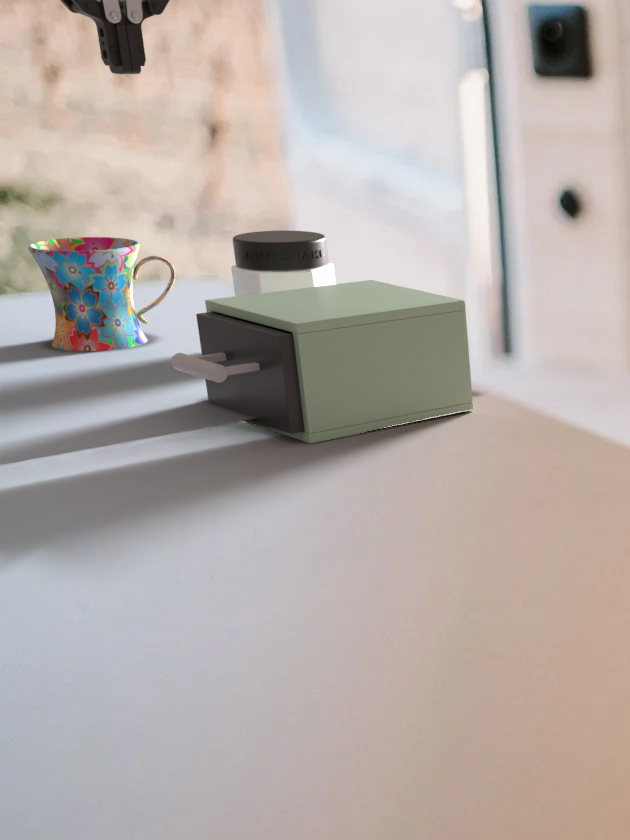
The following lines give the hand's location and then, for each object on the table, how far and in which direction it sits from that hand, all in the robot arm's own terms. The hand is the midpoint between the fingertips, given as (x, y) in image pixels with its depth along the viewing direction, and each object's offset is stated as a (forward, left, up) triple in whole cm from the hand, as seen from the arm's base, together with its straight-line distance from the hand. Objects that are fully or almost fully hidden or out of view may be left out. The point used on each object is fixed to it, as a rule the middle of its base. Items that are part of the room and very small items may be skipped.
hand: (125, 73), depth 128 cm
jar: (+16, +8, -27) cm, 33 cm away
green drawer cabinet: (+9, -12, -27) cm, 31 cm away
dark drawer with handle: (+5, -12, -26) cm, 29 cm away
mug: (+6, +22, -27) cm, 35 cm away
